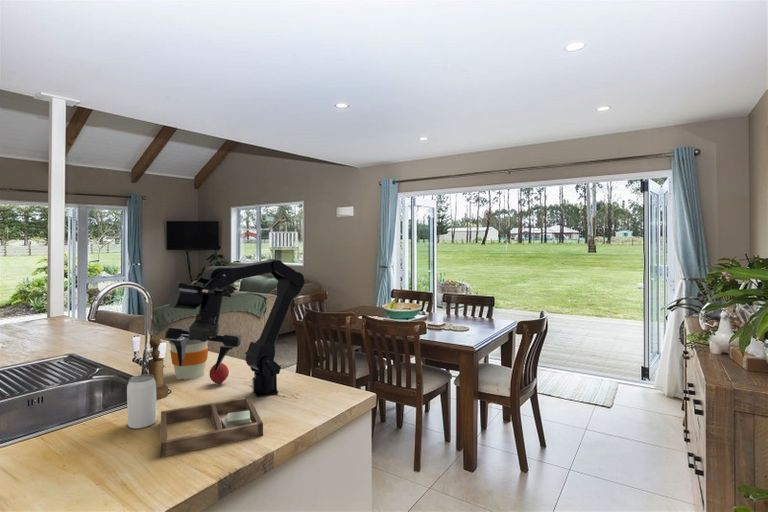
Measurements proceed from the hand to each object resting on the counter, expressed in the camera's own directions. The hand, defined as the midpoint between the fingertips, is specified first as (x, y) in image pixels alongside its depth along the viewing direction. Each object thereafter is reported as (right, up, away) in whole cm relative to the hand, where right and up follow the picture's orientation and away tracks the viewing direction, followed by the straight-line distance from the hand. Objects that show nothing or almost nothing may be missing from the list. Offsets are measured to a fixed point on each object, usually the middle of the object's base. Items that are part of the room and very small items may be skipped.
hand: (198, 368), depth 115 cm
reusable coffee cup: (-17, -11, +31) cm, 37 cm away
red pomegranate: (-3, -11, +23) cm, 26 cm away
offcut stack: (+14, -13, -10) cm, 22 cm away
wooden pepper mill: (-18, -12, +13) cm, 25 cm away
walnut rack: (+7, -13, -9) cm, 17 cm away
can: (-12, -13, -6) cm, 18 cm away
